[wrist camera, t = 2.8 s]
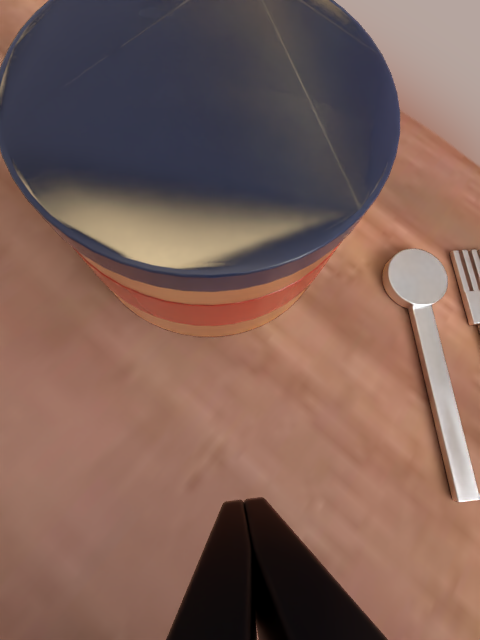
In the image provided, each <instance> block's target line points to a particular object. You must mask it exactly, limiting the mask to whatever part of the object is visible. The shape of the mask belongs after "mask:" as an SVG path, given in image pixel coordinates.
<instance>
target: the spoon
mask: <svg viewBox="0 0 480 640" xmlns="http://www.w3.org/2000/svg"><path fill="white" fill-rule="evenodd" d="M382 281H383V286H384V288H385V290H386V292H387V294H388V295H389V297H390V298H391V299H392V300H393V301H395V302H396V303H397V304H399V305H401V306H403V307H405V308H408V311H409V315H410V319H411V324H412V328H413V332H414V336H415V341H416V345H417V349H418V354H419V358H420V362H421V367H422V371H423V375H424V379H425V384H426V388H427V392H428V397H429V401H430V405H431V410H432V414H433V418H434V423H435V427H436V431H437V435H438V440H439V444H440V448H441V453H442V457H443V461H444V466H445V470H446V474H447V478H448V483H449V487H450V491H451V496H452V499H453V500H454V501H457V502H466V501H474V500H480V496H479V492H478V488H477V484H476V480H475V476H474V472H473V468H472V464H471V460H470V456H469V452H468V448H467V444H466V440H465V436H464V432H463V428H462V424H461V420H460V416H459V412H458V408H457V404H456V401H455V397H454V393H453V389H452V385H451V381H450V377H449V373H448V369H447V365H446V361H445V357H444V353H443V349H442V345H441V341H440V337H439V333H438V329H437V325H436V321H435V317H434V313H433V309H432V304H434V303H436V302H438V301H439V300H440V299H441V298H442V297H443V296H444V294H445V292H446V290H447V286H448V278H447V273H446V271H445V268H444V267H443V265H442V264H441V262H440V261H439V260H438V259H437V258H436V257H435V256H433V255H432V254H430V253H429V252H427V251H424V250H420V249H406V250H402V251H400V252H398V253H397V254H396V255H394V256H393V257H392V258H391V259H390V260H389V261H388V262H387V263H386V265H385V267H384V269H383V274H382Z"/></svg>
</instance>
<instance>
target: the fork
mask: <svg viewBox="0 0 480 640" xmlns="http://www.w3.org/2000/svg"><path fill="white" fill-rule="evenodd" d="M450 257H451V260H452V264H453V267H454V271H455V275H456V278H457V282H458V285H459V289H460V293H461V297H462V301H463V304H464V308H465V312H466V315H467V319H468V322H469V325H478V329H479V332H480V250H478V251H477V250H476V249H472V250H470V251H467V250H462V251H460V252H458V250H455V251H452V252H450Z"/></svg>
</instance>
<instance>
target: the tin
mask: <svg viewBox="0 0 480 640" xmlns="http://www.w3.org/2000/svg"><path fill="white" fill-rule="evenodd" d="M399 136H400V109H399V102H398V96H397V91H396V88H395V84H394V81H393V78H392V75H391V72H390V70H389V68H388V66H387V64H386V62H385V60H384V57H383V55H382V54H381V52H380V51H379V49H378V48H377V46H376V44H375V43H374V41H373V40H372V38H371V37H370V36H369V35H368V33H367V32H366V31H365V30H364V29H363V28H362V26H361V25H360V24H359V23H358V22H357V21H356V20H355V19H354V18H353V17H352V16H351V15H350V14H349V13H348V12H347V11H346V10H345V9H344V8H342V7H341V6H340V5H338V4H337V3H336V2H335V1H333V0H49V1H48V2H46V3H45V4H44V5H43V6H42V7H41V8H40V9H39V10H37V11H36V12H35V13H34V14H33V15H32V17H31V18H30V19H29V20H28V21H27V22H26V24H25V25H24V26H23V27H22V28H21V29H20V31H19V33H18V34H17V36H16V37H15V39H14V41H13V42H12V44H11V45H10V47H9V49H8V51H7V53H6V56H5V58H4V60H3V63H2V65H1V67H0V150H1V154H2V157H3V159H4V162H5V164H6V166H7V168H8V170H9V172H10V174H11V176H12V178H13V180H14V182H15V183H16V184H17V186H18V187H19V189H20V190H21V192H22V193H23V195H24V196H25V198H26V199H27V200H28V202H29V203H30V204H31V205H32V206H33V207H34V208H35V209H36V211H37V212H38V213H39V214H40V215H41V216H42V217H43V219H44V220H45V221H46V222H47V223H48V224H49V225H50V226H51V227H52V228H53V229H54V230H55V231H56V232H57V234H58V235H59V236H60V237H61V238H62V239H63V240H64V241H66V242H67V243H68V244H70V245H71V246H72V247H73V249H74V250H75V251H76V252H77V253H78V254H79V255H80V257H81V258H82V259H83V260H84V261H85V262H86V264H87V265H88V266H89V267H90V268H91V269H92V270H93V272H94V273H95V274H96V275H97V276H98V277H99V278H100V279H101V280H102V282H103V283H104V284H105V285H106V286H107V287H108V288H109V289H110V290H111V291H112V292H113V293H114V294H115V296H116V297H117V298H118V299H119V300H120V301H121V302H122V303H123V304H124V305H125V306H126V307H128V308H129V309H130V310H131V311H133V312H134V313H135V314H136V315H138V316H140V317H141V318H143V319H145V320H146V321H148V322H150V323H151V324H154V325H156V326H158V327H161V328H163V329H165V330H169V331H172V332H176V333H179V334H184V335H191V336H197V337H219V336H228V335H234V334H238V333H242V332H247V331H249V330H252V329H255V328H257V327H260V326H262V325H264V324H266V323H268V322H270V321H271V320H273V319H275V318H277V317H278V316H279V315H281V314H282V313H283V312H285V311H286V310H288V309H289V308H290V307H291V306H292V305H293V304H294V303H295V302H296V301H297V300H298V299H299V298H300V297H301V295H302V294H303V293H304V291H305V290H306V289H307V288H308V286H309V285H310V283H311V282H312V281H313V280H314V279H315V277H316V276H317V275H318V273H319V272H320V271H321V270H322V268H323V267H324V265H325V264H326V263H327V261H328V260H329V258H330V257H331V256H332V254H333V253H334V251H335V250H336V249H337V247H338V246H339V245H340V243H341V242H342V240H343V239H345V238H346V237H347V236H348V235H349V234H350V233H351V231H352V230H353V229H354V227H355V226H356V225H357V224H358V222H359V221H360V220H361V218H362V217H363V216H364V214H365V213H366V212H367V210H368V209H369V208H370V206H371V205H372V204H373V202H374V201H375V200H376V198H377V197H378V195H379V193H380V192H381V190H382V188H383V186H384V184H385V182H386V181H387V179H388V177H389V175H390V172H391V169H392V166H393V163H394V160H395V158H396V153H397V148H398V142H399Z"/></svg>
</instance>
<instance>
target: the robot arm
mask: <svg viewBox="0 0 480 640" xmlns="http://www.w3.org/2000/svg"><path fill="white" fill-rule="evenodd" d="M256 625H257V632H258V637H259V640H388V639H387V638H386V637H385V636H384V635H383V634H382V632H381V631H380V630H379V629H378V628H377V627H376V626H375V624H374V623H373V622H372V621H371V620H370V619H369V618H368V616H367V615H366V614H365V613H364V612H363V611H362V610H361V608H360V607H359V606H358V605H357V604H356V603H355V602H354V600H353V599H352V598H351V597H350V596H349V595H348V594H347V592H346V591H345V590H344V589H343V588H342V587H341V585H340V584H339V583H338V582H337V581H336V580H335V579H334V577H333V576H332V575H331V574H330V573H329V572H328V571H327V569H326V568H325V567H324V566H323V565H322V564H321V563H320V561H319V560H318V559H317V558H316V557H315V556H314V555H313V553H312V552H311V551H310V550H309V549H308V548H307V547H306V545H305V544H304V543H303V542H302V541H301V540H300V539H299V537H298V536H297V535H296V534H295V533H294V532H293V530H292V529H291V528H290V527H289V526H288V525H287V524H286V522H285V521H284V520H283V519H282V518H281V517H280V516H279V514H278V513H277V512H276V511H275V510H274V509H273V508H272V506H271V505H270V504H269V503H268V502H267V501H266V500H265V499H264V498H262V497H259V498H251V499H246V500H245V501H244V502H243V501H242V500H234V501H226V502H224V503H223V505H222V507H221V509H220V512H219V514H218V517H217V519H216V521H215V524H214V526H213V529H212V531H211V533H210V536H209V538H208V541H207V543H206V545H205V548H204V550H203V553H202V555H201V557H200V560H199V562H198V565H197V567H196V569H195V572H194V574H193V577H192V579H191V581H190V584H189V586H188V588H187V591H186V593H185V596H184V598H183V600H182V603H181V605H180V608H179V610H178V612H177V615H176V617H175V620H174V622H173V624H172V627H171V629H170V632H169V634H168V636H167V639H166V640H257V632H256Z"/></svg>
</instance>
